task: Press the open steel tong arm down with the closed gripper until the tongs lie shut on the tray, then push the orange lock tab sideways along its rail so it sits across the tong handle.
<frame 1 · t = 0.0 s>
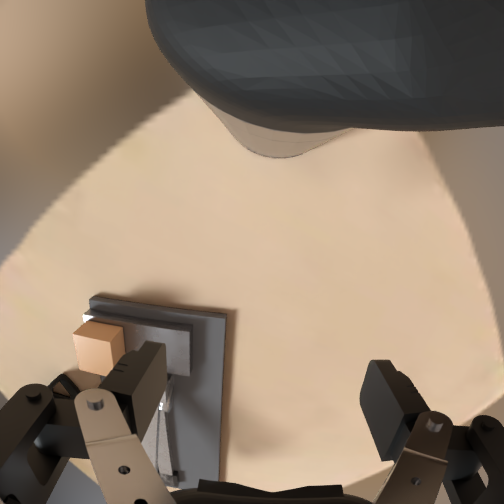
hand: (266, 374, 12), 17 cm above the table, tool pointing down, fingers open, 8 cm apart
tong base: (144, 426, 31), on the tray, point 3 cm above the table
lock tab: (100, 348, 27), point 4 cm above the table, slide at 0.0 cm
tray: (162, 417, 33), on the table
tong arm: (148, 476, 27), point 8 cm above the table, hinge at 30.0°
holder: (66, 403, 35), on the table
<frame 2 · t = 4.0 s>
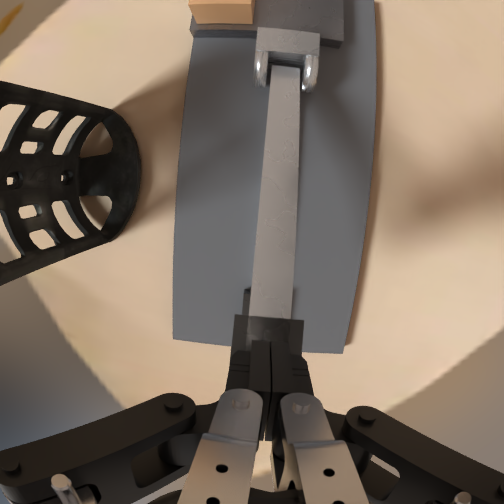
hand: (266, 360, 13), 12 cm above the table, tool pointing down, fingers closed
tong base: (256, 142, 20), on the tray, point 3 cm above the table
tray: (276, 155, 23), on the table
tong arm: (278, 195, 16), point 8 cm above the table, hinge at 29.4°, touching gripper
holder: (95, 178, 24), on the table
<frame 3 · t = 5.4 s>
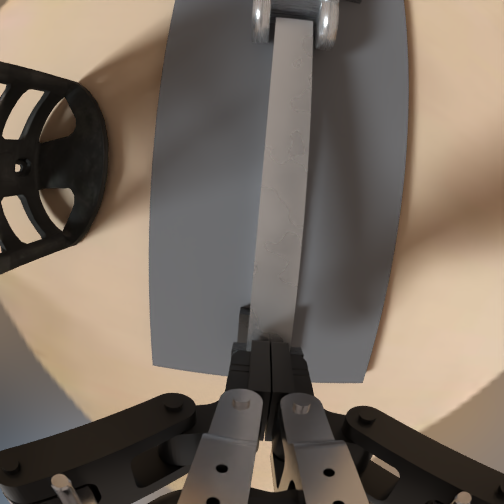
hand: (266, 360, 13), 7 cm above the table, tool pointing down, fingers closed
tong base: (255, 111, 14), on the tray, point 3 cm above the table
tray: (283, 132, 17), on the table
tong arm: (281, 206, 13), point 5 cm above the table, hinge at 11.6°, touching gripper
holder: (57, 167, 18), on the table
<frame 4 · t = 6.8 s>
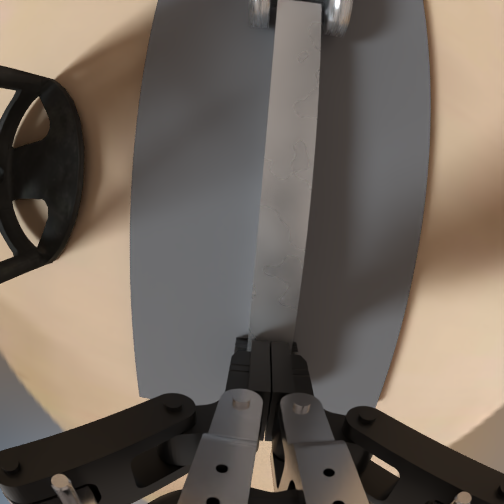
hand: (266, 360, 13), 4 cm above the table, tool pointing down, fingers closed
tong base: (253, 107, 12), on the tray, point 3 cm above the table
tray: (286, 133, 14), on the table
tong arm: (282, 225, 12), point 3 cm above the table, hinge at 1.9°, touching gripper
holder: (32, 174, 15), on the table
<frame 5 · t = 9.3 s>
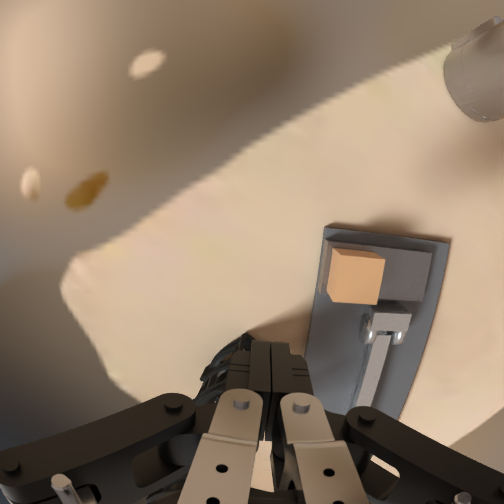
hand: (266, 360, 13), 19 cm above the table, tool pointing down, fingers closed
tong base: (356, 374, 31), on the tray, point 3 cm above the table
lock tab: (354, 275, 27), point 4 cm above the table, slide at 0.0 cm
tray: (362, 365, 33), on the table
tong arm: (360, 408, 31), point 3 cm above the table, hinge at 1.9°
holder: (232, 374, 34), on the table
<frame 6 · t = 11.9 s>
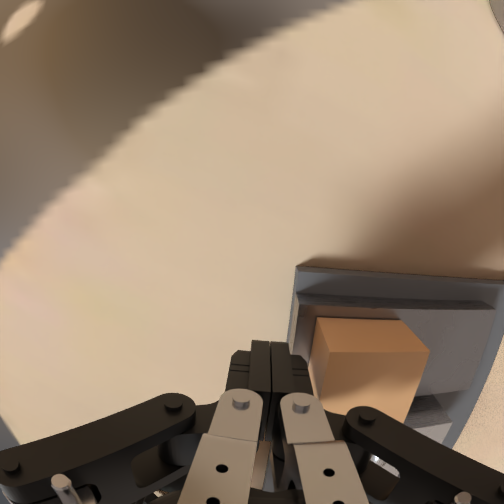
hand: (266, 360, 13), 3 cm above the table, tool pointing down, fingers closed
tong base: (349, 493, 16), on the tray, point 3 cm above the table
lock tab: (360, 376, 12), point 4 cm above the table, slide at 0.3 cm, touching gripper
tray: (360, 469, 18), on the table
holder: (163, 474, 19), on the table
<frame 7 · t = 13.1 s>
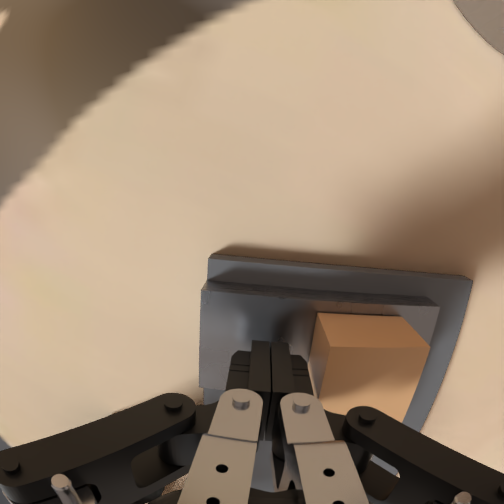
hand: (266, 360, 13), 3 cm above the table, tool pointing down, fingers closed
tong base: (287, 494, 16), on the tray, point 3 cm above the table
lock tab: (360, 372, 12), point 4 cm above the table, slide at 4.4 cm, touching gripper
tray: (305, 469, 18), on the table
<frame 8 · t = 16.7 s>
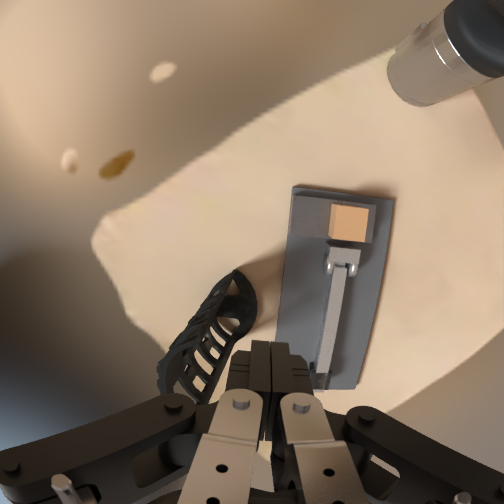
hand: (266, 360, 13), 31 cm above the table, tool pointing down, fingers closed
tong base: (323, 302, 42), on the tray, point 3 cm above the table
lock tab: (347, 222, 38), point 4 cm above the table, slide at 4.4 cm
tray: (329, 299, 45), on the table
tong arm: (328, 334, 42), point 3 cm above the table, hinge at 1.9°
holder: (225, 306, 45), on the table
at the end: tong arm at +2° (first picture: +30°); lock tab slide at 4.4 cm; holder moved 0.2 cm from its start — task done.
